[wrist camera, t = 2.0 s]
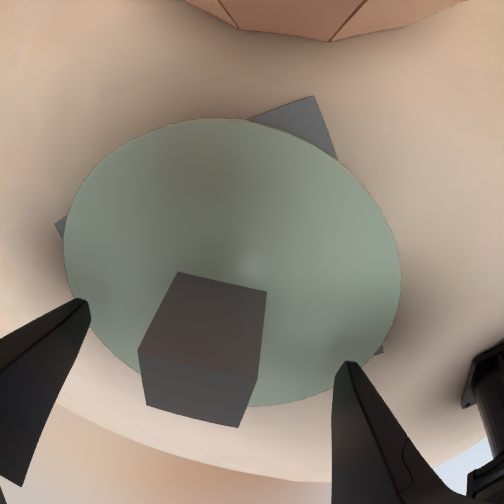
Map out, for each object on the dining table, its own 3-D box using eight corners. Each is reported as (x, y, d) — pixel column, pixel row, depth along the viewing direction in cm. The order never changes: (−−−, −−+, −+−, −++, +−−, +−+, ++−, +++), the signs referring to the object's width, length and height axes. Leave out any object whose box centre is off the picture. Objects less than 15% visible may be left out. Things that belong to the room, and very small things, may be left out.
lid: (446, 181, 8) (530, 248, 4) (322, 405, 15) (324, 476, 11) (71, 104, 8) (-30, 132, 4) (98, 352, 14) (65, 414, 11)
